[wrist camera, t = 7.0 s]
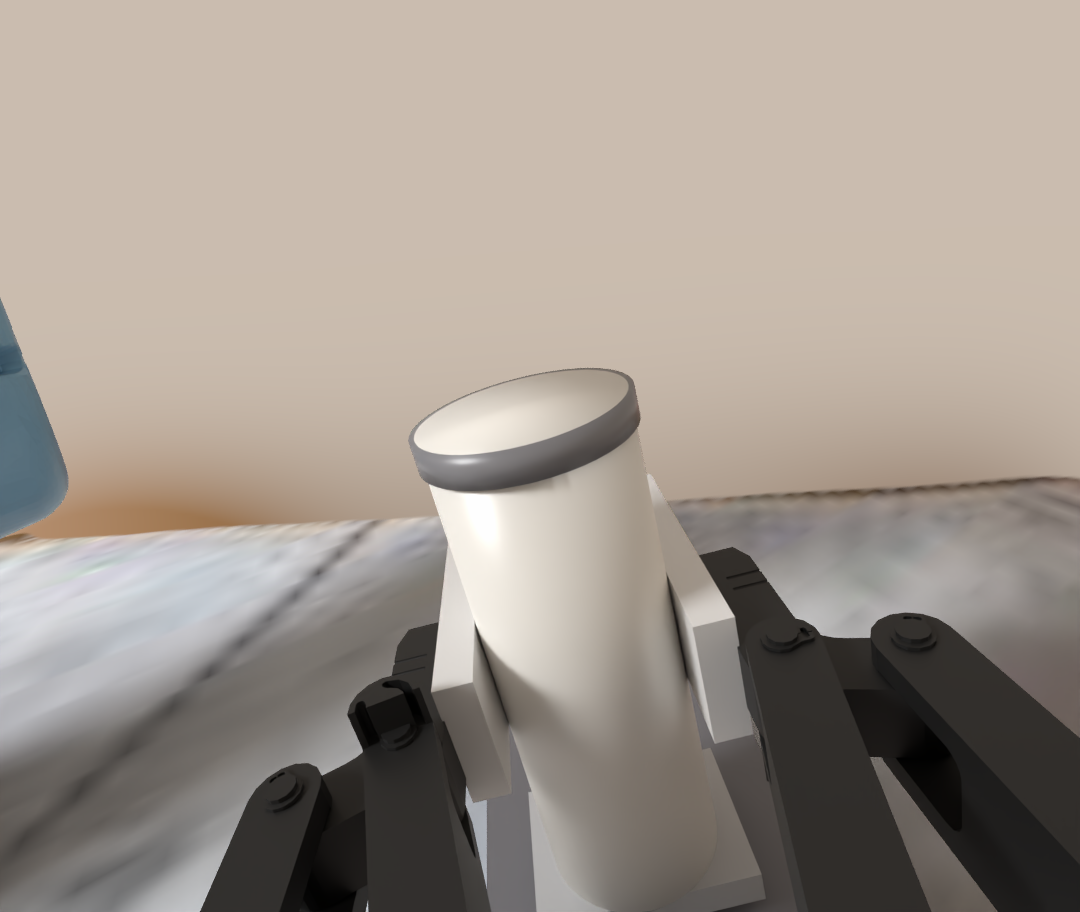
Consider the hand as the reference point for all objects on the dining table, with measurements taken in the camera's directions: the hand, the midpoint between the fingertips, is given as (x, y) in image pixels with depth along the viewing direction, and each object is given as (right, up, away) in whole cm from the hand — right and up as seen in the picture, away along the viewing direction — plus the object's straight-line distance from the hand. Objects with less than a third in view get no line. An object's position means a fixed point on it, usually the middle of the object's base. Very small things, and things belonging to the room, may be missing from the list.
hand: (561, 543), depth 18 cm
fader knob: (+2, -7, -2) cm, 8 cm away
